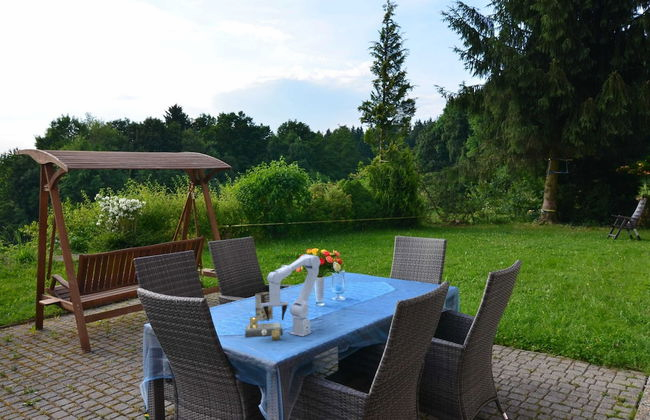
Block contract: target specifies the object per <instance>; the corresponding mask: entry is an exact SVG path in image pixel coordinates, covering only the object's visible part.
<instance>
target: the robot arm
mask: <svg viewBox="0 0 650 420" xmlns="http://www.w3.org/2000/svg"><path fill="white" fill-rule="evenodd" d="M320 265H321V260H320V257H319V256H317V255H314V254H313V255H312V254H307V253H305V254H303V255H301V256H300V257H299V258H297V259H296V260H295V261H293V262H292V263H290V264H289V265H288V264H285V265H284V264H283V265H281V267H280V268H278V269H275V270H274V271H271V272H269V273H268V275H267V277H266V281H267V282H268V286H269V287H268V289H269V291H268V292H269V295H270V302H268V303H261V308H264V311H265V313H266V316H267V320H266V321H267V322H269V321H270V319H269V315H268V307H281V320H282V321H284V319H285V315H286V312H287V309H288V307H289V306H290V302H289V301H281V282H283V279H285V278H287V277H289V276H291V274H292V272H293V271H295V270H297V269H298V268H301V267H303V266H304V268H305V269H306V271H307V274H306V277H305V280H304V283H303V285H302V288H301V290H300V292H299V296H298V298H297V299H296V300H294V302H293V304H292V305H291V306H290V307H289V312H290V313H289V314H291V317H292V331H290V332H289V335H295V336H299V337H304V336H308V335H309V334H311V333H312V331H311V320H310V319H309V318H307V316H308V314H309V308H310V305H309V299H310V297H311V293H312V291H313V289H314V286H315V283H316V281H317V278H318V275H319V271H320V270H319V269H320V268H319V267H320Z"/></svg>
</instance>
